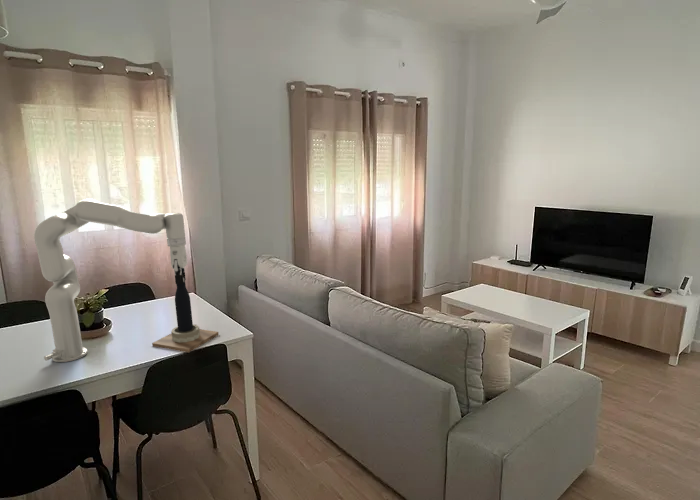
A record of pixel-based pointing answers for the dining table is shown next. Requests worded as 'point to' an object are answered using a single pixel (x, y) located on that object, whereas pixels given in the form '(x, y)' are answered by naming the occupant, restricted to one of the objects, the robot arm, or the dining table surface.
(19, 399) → the dining table surface
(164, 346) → the bottle stand
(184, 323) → the wine bottle
